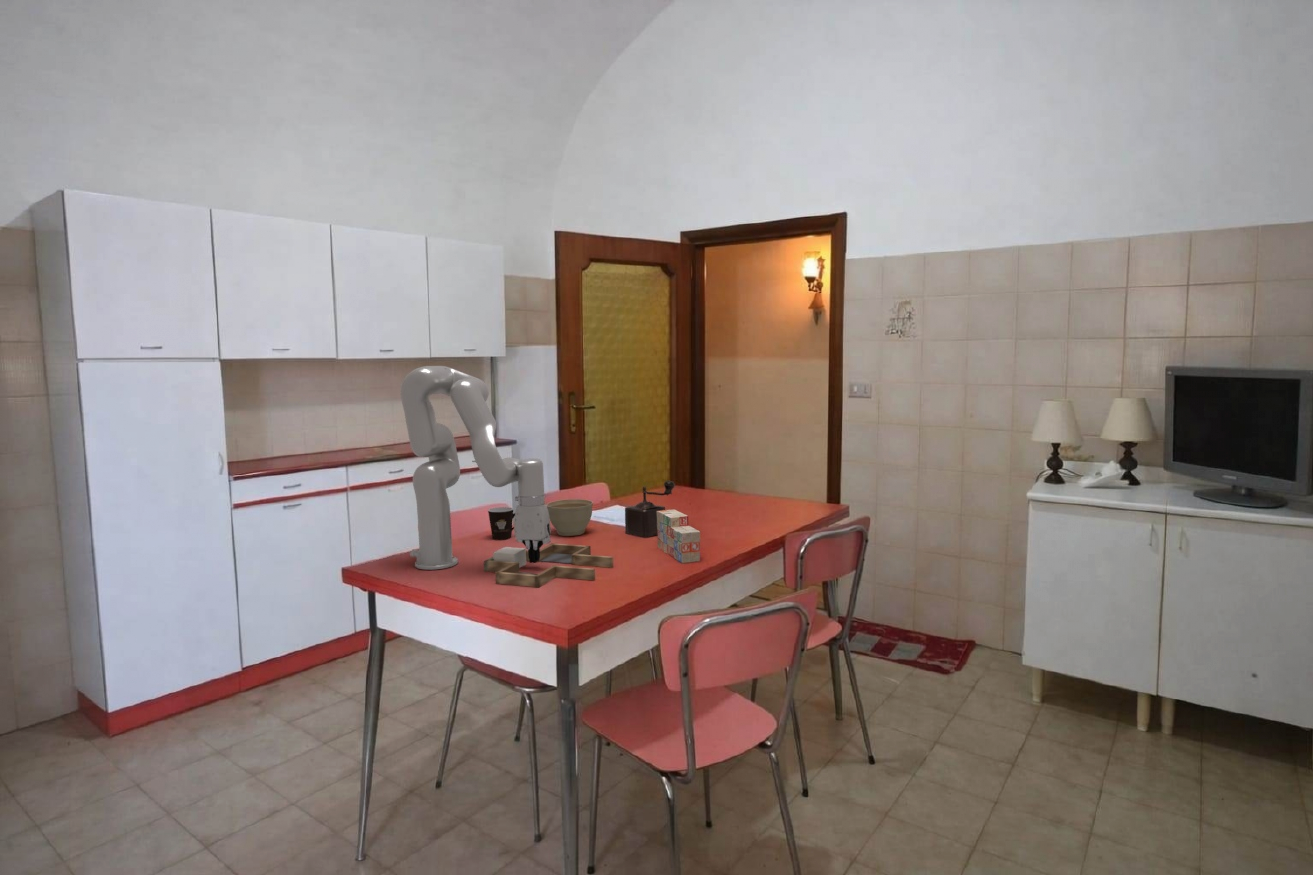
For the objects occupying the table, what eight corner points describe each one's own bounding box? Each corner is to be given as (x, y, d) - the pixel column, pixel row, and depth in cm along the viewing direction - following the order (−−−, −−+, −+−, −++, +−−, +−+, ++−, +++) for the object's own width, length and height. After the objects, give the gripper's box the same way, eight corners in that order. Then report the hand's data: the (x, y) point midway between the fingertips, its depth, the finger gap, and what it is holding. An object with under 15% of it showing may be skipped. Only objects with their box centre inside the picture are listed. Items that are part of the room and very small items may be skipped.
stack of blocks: (700, 561, 234) (700, 521, 232) (681, 563, 232) (680, 523, 230) (675, 545, 254) (674, 508, 252) (657, 547, 252) (656, 510, 250)
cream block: (493, 568, 230) (493, 552, 230) (505, 562, 237) (505, 546, 236) (514, 570, 228) (514, 554, 227) (526, 564, 235) (525, 548, 234)
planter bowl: (578, 526, 284) (577, 497, 283) (602, 533, 272) (601, 503, 270) (539, 532, 275) (538, 502, 274) (562, 541, 262) (561, 509, 261)
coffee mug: (484, 540, 266) (483, 511, 264) (495, 534, 274) (494, 506, 273) (516, 541, 263) (515, 512, 262) (526, 535, 271) (525, 507, 270)
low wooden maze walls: (465, 580, 218) (464, 570, 218) (524, 550, 250) (524, 541, 250) (578, 590, 207) (578, 579, 206) (625, 558, 239) (625, 548, 239)
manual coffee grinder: (645, 538, 264) (644, 486, 262) (624, 533, 272) (623, 482, 270) (678, 530, 274) (677, 480, 272) (656, 526, 282) (655, 477, 280)
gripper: (502, 502, 227) (505, 563, 229) (548, 504, 222) (551, 566, 224) (515, 497, 234) (518, 557, 236) (560, 499, 229) (562, 560, 231)
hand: (534, 561), depth 230 cm, fingers closed
